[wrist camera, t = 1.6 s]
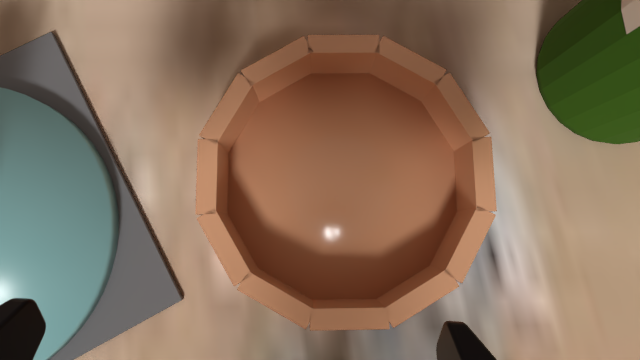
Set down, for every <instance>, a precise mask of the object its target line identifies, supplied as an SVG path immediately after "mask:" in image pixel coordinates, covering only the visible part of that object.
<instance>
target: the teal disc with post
mask: <svg viewBox="0 0 640 360" xmlns="http://www.w3.org/2000/svg"><path fill="white" fill-rule="evenodd" d="M118 236H119V212H118V205H117V198H116V193H115V190H114V186H113V183H112V179H111V176H110V174H109V171H108V169H107V167H106V165H105V162H104V160H103V158H102V157H101V155H100V154H99V152H98V151H97V149H96V147H95V146H94V144H93V143H92V142H91V141H90V139H89V138H88V137H87V136H86V135H85V133H84V132H83V131H82V130H81V129H80V128H79V127H78V126H76V125H75V124H74V123H73V122H72V121H71V120H70V119H69V118H67V117H66V116H64V115H63V114H61V113H60V112H58V111H57V110H55V109H54V108H52V107H50V106H48V105H45V104H43V103H41V102H39V101H37V100H35V99H33V98H31V97H29V96H27V95H25V94H22V93H19V92H16V91H13V90H10V89H6V88H1V87H0V305H1V304H3V303H5V302H6V301H8V300H10V299H13V298H27V299H33V300H34V301H35V302H36V303H37V305H38V307H39V309H40V311H41V314H42V316H43V318H44V320H45V322H46V330H45V334H44V336H43V339H42V341H41V343H40V345H39V347H38V350H37V352H36V354H35V356H34V359H33V360H50V359H51V358H52V357H53V356H54V355H55V354H56V353H58V352H59V351H60V350H61V349H62V348H63V347H65V346H66V345H67V344H68V343H69V341H70V340H71V339H72V338H73V337H74V336H75V335H76V334H77V333H78V332H79V330H80V329H81V328H82V327H83V325H84V324H85V322H86V321H87V320H88V318H89V317H90V315H91V314H92V313H93V311H94V309H95V308H96V306H97V304H98V302H99V300H100V298H101V296H102V295H103V293H104V290H105V288H106V285H107V283H108V280H109V278H110V275H111V272H112V268H113V265H114V261H115V257H116V252H117V244H118Z"/></svg>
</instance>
